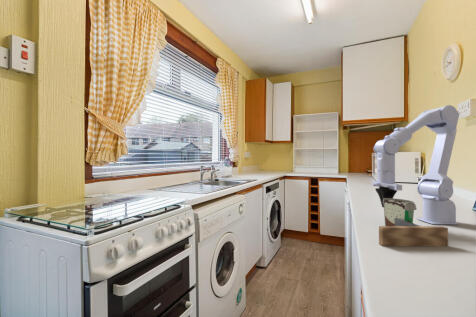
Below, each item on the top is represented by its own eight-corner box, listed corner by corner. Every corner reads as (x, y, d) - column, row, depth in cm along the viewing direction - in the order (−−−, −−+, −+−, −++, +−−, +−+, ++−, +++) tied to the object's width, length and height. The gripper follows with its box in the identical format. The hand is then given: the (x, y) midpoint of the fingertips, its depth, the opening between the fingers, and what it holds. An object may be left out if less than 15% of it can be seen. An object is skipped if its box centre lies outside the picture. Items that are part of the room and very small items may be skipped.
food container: (426, 236, 71) (426, 204, 72) (406, 236, 72) (406, 204, 72) (399, 225, 84) (399, 197, 84) (382, 225, 84) (382, 197, 84)
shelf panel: (443, 244, 65) (443, 226, 65) (448, 246, 63) (447, 228, 63) (378, 243, 65) (378, 226, 65) (382, 245, 63) (382, 227, 63)
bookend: (397, 233, 75) (397, 217, 75) (421, 244, 65) (421, 226, 65) (378, 232, 75) (378, 217, 75) (400, 244, 65) (400, 226, 65)
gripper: (364, 170, 94) (364, 203, 94) (387, 172, 80) (387, 211, 79) (382, 170, 94) (382, 203, 94) (408, 172, 79) (408, 211, 79)
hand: (385, 207), depth 87 cm, fingers closed
